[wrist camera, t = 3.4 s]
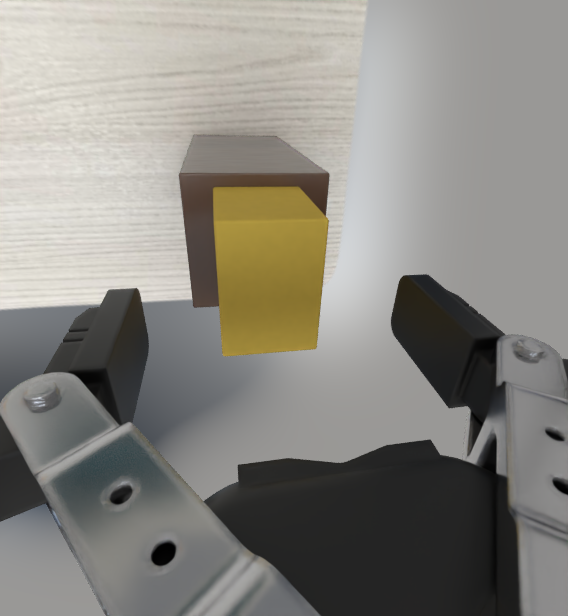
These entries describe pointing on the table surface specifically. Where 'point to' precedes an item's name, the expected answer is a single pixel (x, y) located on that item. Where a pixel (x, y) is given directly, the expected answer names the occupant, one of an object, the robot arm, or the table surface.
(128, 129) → the table surface
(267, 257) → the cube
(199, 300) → the stand
